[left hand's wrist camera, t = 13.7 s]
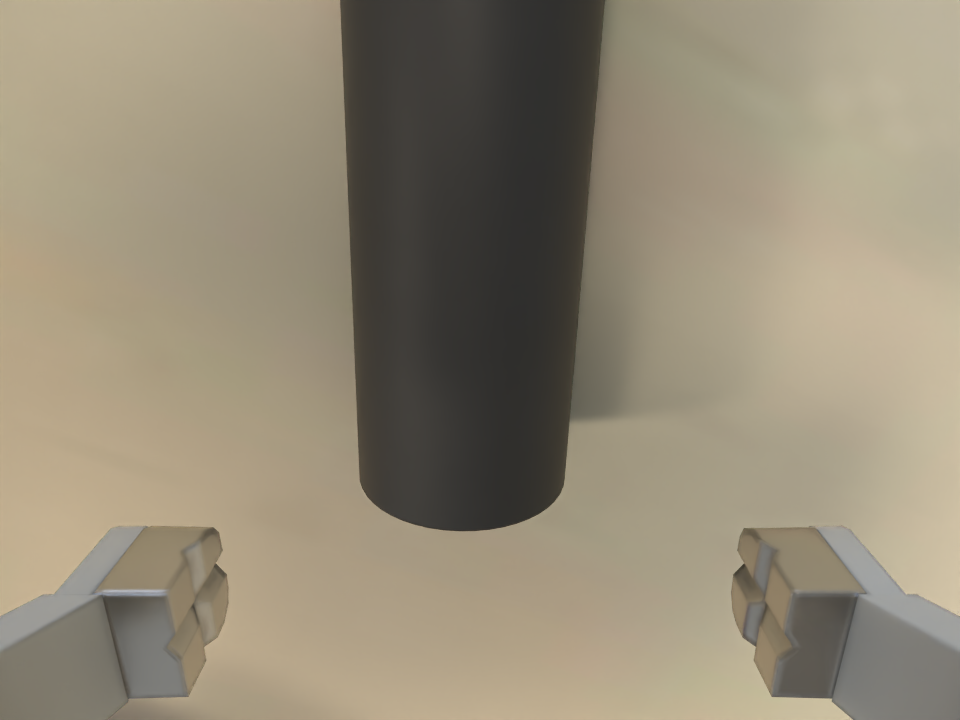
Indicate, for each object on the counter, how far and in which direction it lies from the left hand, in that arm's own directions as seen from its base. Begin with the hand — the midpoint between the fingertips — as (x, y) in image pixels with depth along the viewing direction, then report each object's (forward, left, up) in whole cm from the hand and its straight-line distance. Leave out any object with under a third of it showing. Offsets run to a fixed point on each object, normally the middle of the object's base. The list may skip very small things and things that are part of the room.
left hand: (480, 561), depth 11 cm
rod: (+5, +6, -12) cm, 14 cm away
